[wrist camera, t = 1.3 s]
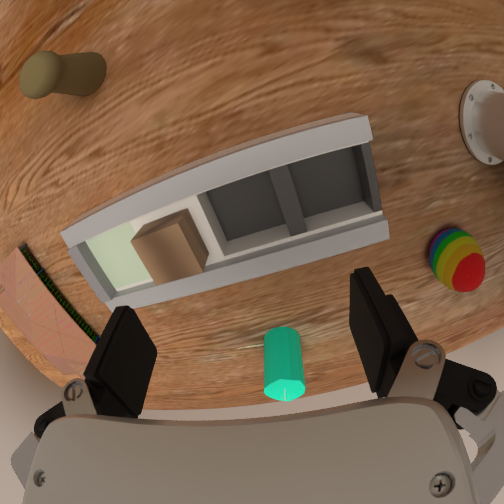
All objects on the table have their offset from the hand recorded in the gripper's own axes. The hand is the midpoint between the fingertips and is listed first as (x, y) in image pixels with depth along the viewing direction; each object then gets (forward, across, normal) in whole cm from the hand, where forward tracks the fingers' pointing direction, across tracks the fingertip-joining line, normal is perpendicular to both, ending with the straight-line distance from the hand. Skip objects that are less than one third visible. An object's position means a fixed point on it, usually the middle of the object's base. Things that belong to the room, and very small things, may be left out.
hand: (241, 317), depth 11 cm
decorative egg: (+23, -27, +15) cm, 39 cm away
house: (+26, +47, +19) cm, 57 cm away
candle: (+24, 0, +28) cm, 37 cm away
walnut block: (+20, +10, +5) cm, 23 cm away
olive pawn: (+24, +17, -18) cm, 35 cm away
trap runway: (+24, +5, +4) cm, 25 cm away
